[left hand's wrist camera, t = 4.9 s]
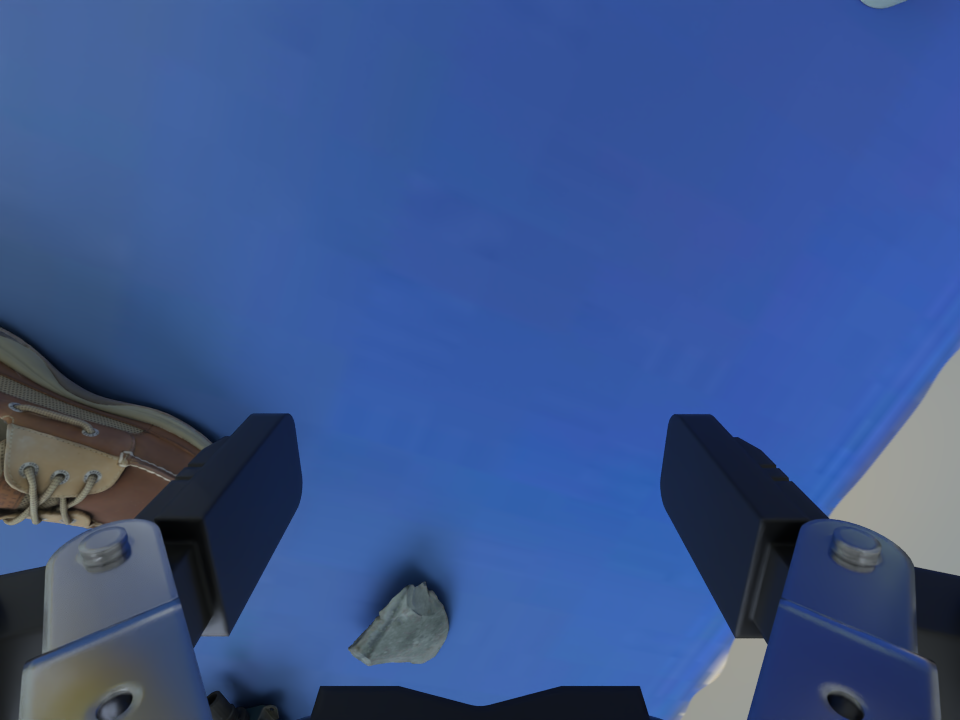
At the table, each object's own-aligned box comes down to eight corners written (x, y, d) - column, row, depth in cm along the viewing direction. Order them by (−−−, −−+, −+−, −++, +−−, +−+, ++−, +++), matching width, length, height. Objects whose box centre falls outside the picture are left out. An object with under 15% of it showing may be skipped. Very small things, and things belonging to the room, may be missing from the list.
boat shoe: (237, 551, 48) (175, 650, 38) (-94, 400, 43) (-266, 469, 33) (287, 464, 45) (233, 547, 35) (-64, 287, 39) (-246, 327, 30)
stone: (475, 575, 50) (379, 563, 46) (485, 613, 47) (382, 604, 43) (429, 639, 55) (337, 633, 50) (435, 678, 51) (337, 675, 47)
